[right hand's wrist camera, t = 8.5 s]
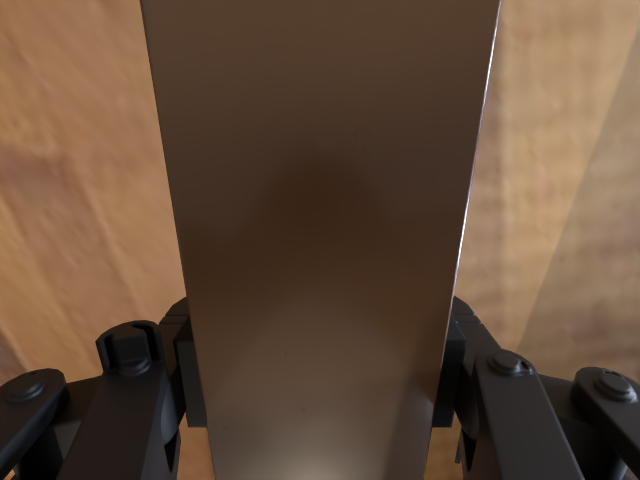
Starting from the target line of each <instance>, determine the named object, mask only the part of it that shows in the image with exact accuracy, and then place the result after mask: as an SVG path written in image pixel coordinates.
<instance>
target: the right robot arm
mask: <svg viewBox="0 0 640 480" xmlns="http://www.w3.org/2000/svg"><path fill="white" fill-rule="evenodd" d="M95 342H96V346H97V350H98V353H99V357H100V361H101V364H102V368H103V374H102V375H101V376H98V377H94V378H89V379H85V380H80V381H75V382H71V383H66V380H65V377H64V374H63V373H62V372H60V371H59V370H57V369H50V368H47V369H40V370H35V371H31V372H29V373H28V372H27V373H25V374H22V375H20V376H18V377H16V378H14V379H12V380H10V381H8V382H6V383H5V384H4V385H2V386H1V387H0V480H4V478H5V477H6V476H7V475H8V474H9V472H10V471H11V470H12V469H13V470H14V472H15V475H14V476H13V477H12V479H11V480H177V471H178V462H179V454H180V445H181V438H180V432H179V424H180V422H181V420H182V418H183V416H184V413H185V412H186V418H187V423H188V427H207V422H206V416H205V409H204V403H203V397H202V390H201V384H200V378H199V371H198V365H197V359H196V352H195V346H194V340H193V333H192V327H191V321H190V314H189V308H188V302H187V297H184V298H183V299H181V300H180V301H178V302H177V303H175V304H174V305H172V307H171V308H170V309H169V311H168V312H167V313H166V315H165V317H163V319H162V320H161V321H160V322H159V325H157V324H156V323H154V322H151V321H147V320H138V321H131V322H127V323H122V324H120V325H118V326H115V327H113V328H111V329H109V330H107V331H106V332H104V333H103V334H101V335H100V337H99V338H98V339H97V340H96V341H95ZM454 411H455V412H456V414H457V417H458V419H459V421H460V423H461V425H462V427H461V432H460V437H459V442H458V447H457V452H456V458H455V463H458V464H460V459H461V461H462V470H463V479H464V480H640V385H639V384H637V383H636V382H635V381H633V380H631V379H629V378H627V377H625V376H623V375H622V374H620V373H617V372H615V371H611V370H608V369H604V368H597V367H586V368H582V369H580V370H579V371H578V372H577V373H576V376H575V379H574V382H572V381H567V380H562V379H558V378H553V377H548V376H544V375H541V374H538V373H537V371H536V370H535V368H534V367H533V365H532V364H531V363H530V362H529V361H527V360H526V359H525V358H523V357H522V356H520V355H518V354H516V353H514V352H512V351H508V350H504V349H501V347H500V346H499V345H498V343H497V342H496V341H495V339H494V338H493V337H492V336H491V334H490V333H489V332H488V330H487V329H486V328H485V326H484V325H483V324H481V321H480V320H479V319H478V317H477V316H475V313H474V312H473V311H472V310H471V308H470V307H469V306H468V304H466V303H465V302H463V301H462V300H460V299H459V298H457V297H456V296H453V301H452V307H451V313H450V319H449V326H448V332H447V338H446V344H445V350H444V356H443V363H442V369H441V375H440V381H439V387H438V393H437V400H436V406H435V412H434V418H433V424H432V427H452V422H453V416H454Z"/></svg>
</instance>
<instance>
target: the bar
mask: <svg viewBox="0 0 640 480" xmlns="http://www.w3.org/2000/svg"><path fill="white" fill-rule="evenodd" d="M500 4H501V0H140V5H141V11H142V18H143V24H144V30H145V37H146V43H147V49H148V55H149V62H150V68H151V74H152V81H153V87H154V93H155V100H156V106H157V112H158V119H159V125H160V131H161V138H162V144H163V150H164V157H165V163H166V169H167V175H168V182H169V188H170V194H171V201H172V207H173V213H174V220H175V226H176V232H177V239H178V245H179V251H180V258H181V264H182V270H183V277H184V283H185V289H186V296H187V302H188V308H189V314H190V321H191V327H192V333H193V340H194V346H195V352H196V359H197V365H198V371H199V378H200V384H201V390H202V397H203V403H204V409H205V416H206V422H207V428H208V434H209V441H210V447H211V453H212V460H213V466H214V472H215V479H216V480H424V474H425V468H426V461H427V455H428V449H429V443H430V437H431V431H432V424H433V418H434V412H435V406H436V400H437V393H438V387H439V381H440V375H441V369H442V363H443V356H444V350H445V344H446V338H447V332H448V326H449V319H450V313H451V307H452V301H453V295H454V288H455V282H456V276H457V270H458V264H459V258H460V251H461V245H462V239H463V233H464V227H465V221H466V214H467V208H468V202H469V196H470V190H471V183H472V177H473V171H474V165H475V159H476V153H477V146H478V140H479V134H480V128H481V122H482V116H483V109H484V103H485V97H486V91H487V85H488V78H489V72H490V66H491V60H492V54H493V48H494V41H495V35H496V29H497V23H498V17H499V11H500Z"/></svg>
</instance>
